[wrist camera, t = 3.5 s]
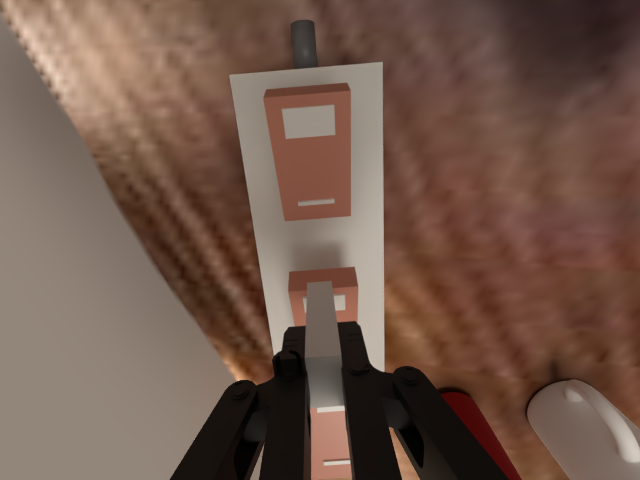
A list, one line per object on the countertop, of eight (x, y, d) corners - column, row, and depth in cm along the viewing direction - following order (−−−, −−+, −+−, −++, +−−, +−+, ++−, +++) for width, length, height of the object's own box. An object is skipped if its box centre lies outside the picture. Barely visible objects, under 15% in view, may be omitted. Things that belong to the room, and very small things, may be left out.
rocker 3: (306, 377, 28) (304, 387, 26) (355, 373, 28) (358, 383, 26) (312, 464, 28) (312, 481, 26) (362, 460, 28) (365, 477, 26)
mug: (515, 365, 33) (598, 461, 23) (592, 343, 32) (711, 433, 23) (528, 437, 37) (604, 545, 27) (597, 419, 36) (700, 524, 27)
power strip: (234, 39, 22) (211, 13, 17) (370, 27, 22) (386, -2, 17) (289, 410, 35) (285, 456, 30) (377, 403, 35) (387, 448, 30)
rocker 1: (266, 89, 17) (262, 98, 16) (347, 82, 17) (351, 91, 15) (285, 207, 22) (284, 222, 21) (347, 202, 22) (351, 217, 21)
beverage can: (405, 407, 35) (448, 538, 24) (454, 376, 34) (525, 500, 22) (437, 437, 37) (491, 573, 25) (485, 409, 35) (565, 540, 24)
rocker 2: (289, 271, 21) (287, 293, 19) (354, 266, 21) (358, 288, 19) (301, 335, 26) (301, 357, 25) (353, 331, 26) (357, 352, 24)
